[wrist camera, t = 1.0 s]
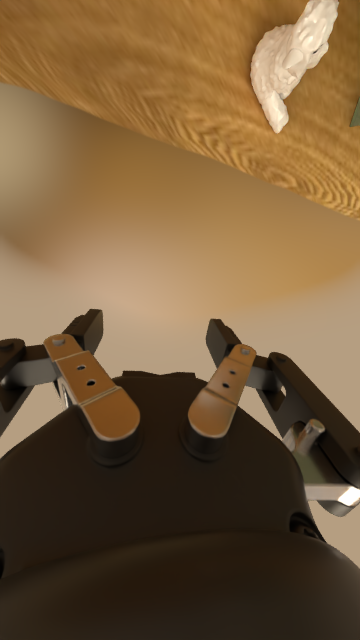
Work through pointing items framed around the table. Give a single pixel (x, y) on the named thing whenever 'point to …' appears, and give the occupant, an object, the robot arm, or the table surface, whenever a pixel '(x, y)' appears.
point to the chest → (356, 115)
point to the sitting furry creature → (290, 57)
